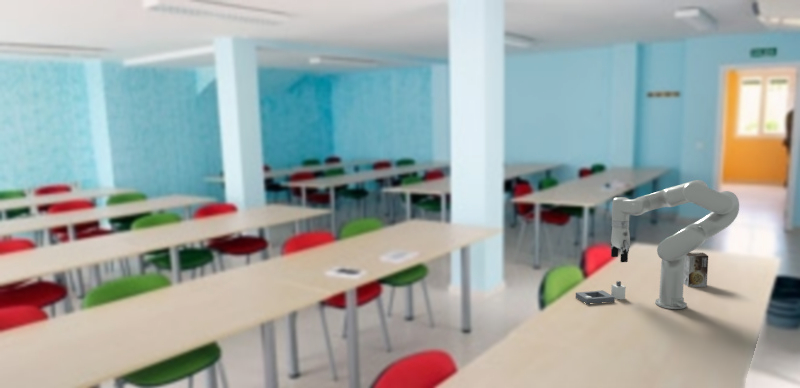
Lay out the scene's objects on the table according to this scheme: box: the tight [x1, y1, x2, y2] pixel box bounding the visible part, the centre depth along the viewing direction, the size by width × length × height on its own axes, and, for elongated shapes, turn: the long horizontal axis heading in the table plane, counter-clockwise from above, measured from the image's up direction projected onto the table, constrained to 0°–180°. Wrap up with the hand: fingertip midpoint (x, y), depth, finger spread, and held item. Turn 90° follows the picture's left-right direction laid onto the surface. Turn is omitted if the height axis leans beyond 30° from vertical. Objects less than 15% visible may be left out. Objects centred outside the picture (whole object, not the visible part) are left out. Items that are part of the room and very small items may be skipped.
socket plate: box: [575, 289, 616, 305], centre depth 265 cm, size 10×14×3 cm
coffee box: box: [684, 252, 709, 288], centre depth 284 cm, size 9×6×16 cm
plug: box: [610, 280, 626, 300], centre depth 267 cm, size 4×4×8 cm
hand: (619, 259), depth 268 cm, fingers open, 9 cm apart
